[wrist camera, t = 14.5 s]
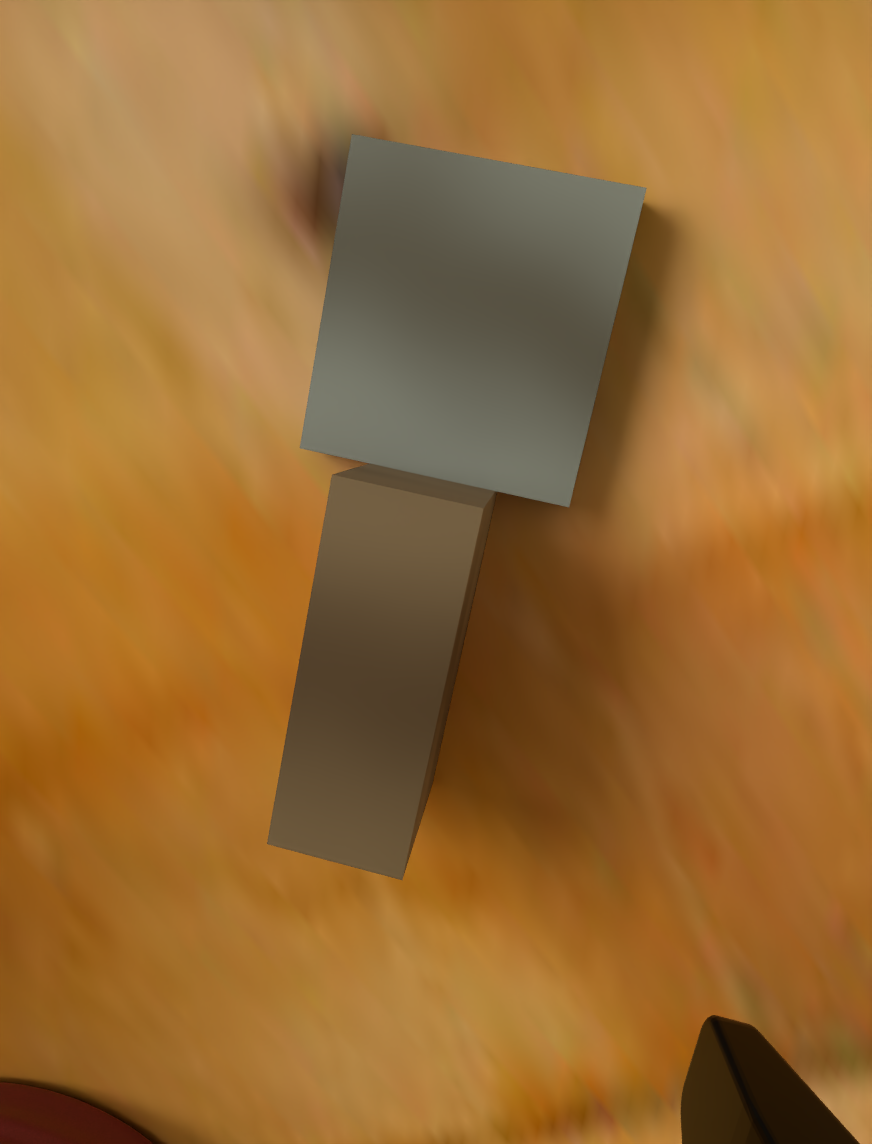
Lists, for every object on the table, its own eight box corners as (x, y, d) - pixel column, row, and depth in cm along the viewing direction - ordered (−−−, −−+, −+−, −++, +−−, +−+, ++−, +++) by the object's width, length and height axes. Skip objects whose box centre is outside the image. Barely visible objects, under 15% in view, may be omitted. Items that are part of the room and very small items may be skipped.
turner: (496, 799, 19) (482, 901, 15) (263, 740, 19) (191, 823, 15) (640, 201, 16) (670, 133, 12) (363, 150, 16) (306, 69, 12)
